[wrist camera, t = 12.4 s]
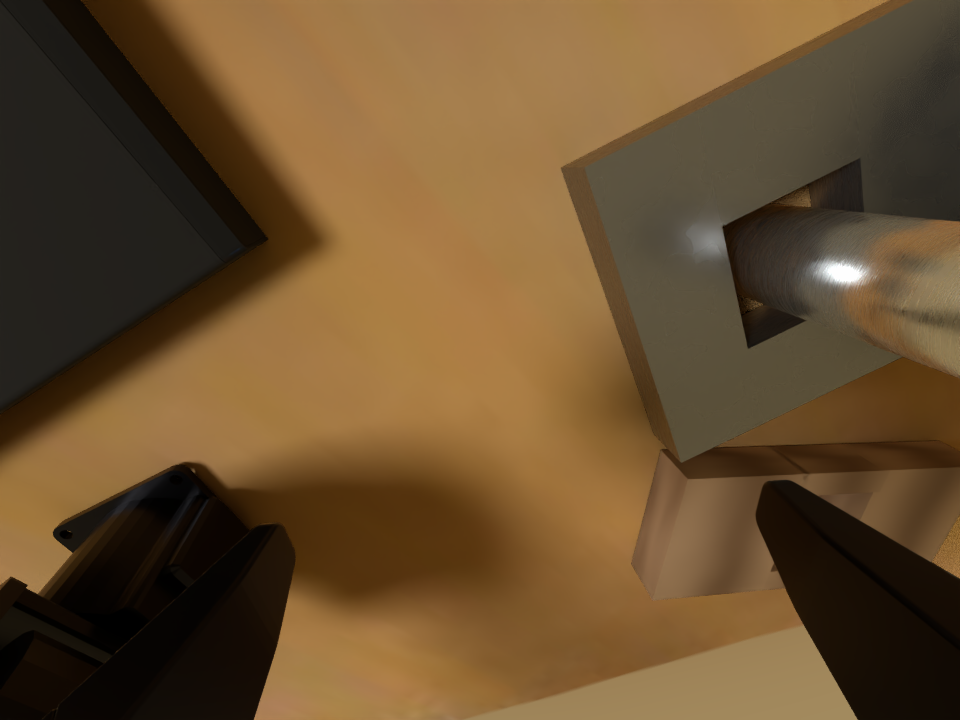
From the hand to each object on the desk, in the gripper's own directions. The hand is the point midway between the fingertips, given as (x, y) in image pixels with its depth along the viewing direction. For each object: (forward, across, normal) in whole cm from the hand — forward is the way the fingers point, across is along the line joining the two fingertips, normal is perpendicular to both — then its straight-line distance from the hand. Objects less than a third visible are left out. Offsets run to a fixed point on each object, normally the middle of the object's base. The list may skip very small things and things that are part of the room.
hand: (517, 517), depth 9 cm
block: (+14, -12, 0) cm, 18 cm away
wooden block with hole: (+13, -16, +16) cm, 26 cm away
